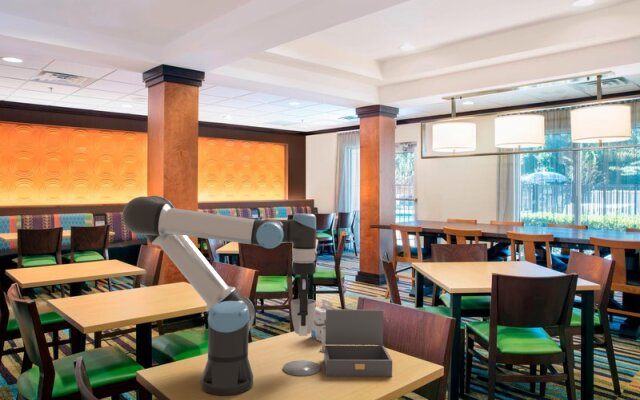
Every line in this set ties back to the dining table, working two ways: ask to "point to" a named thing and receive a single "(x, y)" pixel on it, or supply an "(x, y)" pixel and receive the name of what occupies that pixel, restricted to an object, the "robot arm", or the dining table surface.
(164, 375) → the dining table surface
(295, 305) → the cup
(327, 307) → the ink box
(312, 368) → the slate coaster
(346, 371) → the case
